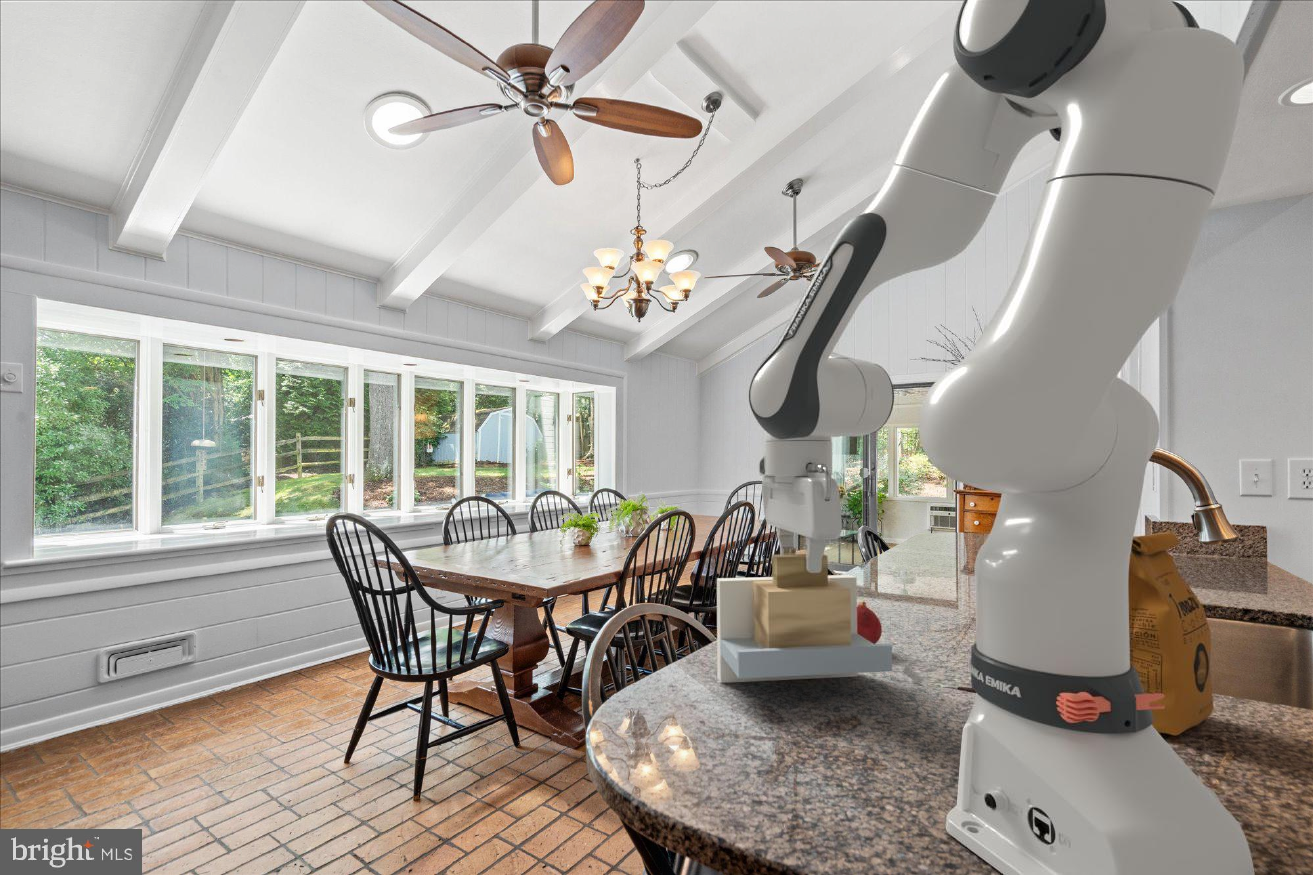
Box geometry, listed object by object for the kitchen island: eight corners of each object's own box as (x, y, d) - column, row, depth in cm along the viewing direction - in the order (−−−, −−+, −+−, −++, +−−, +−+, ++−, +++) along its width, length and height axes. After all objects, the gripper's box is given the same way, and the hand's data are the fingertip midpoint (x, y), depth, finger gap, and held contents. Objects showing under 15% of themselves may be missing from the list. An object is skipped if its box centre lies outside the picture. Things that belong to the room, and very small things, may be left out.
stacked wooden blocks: (851, 651, 81) (849, 558, 81) (768, 655, 80) (767, 560, 80) (829, 636, 88) (828, 550, 88) (753, 639, 87) (752, 552, 87)
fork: (1037, 708, 78) (1036, 692, 78) (902, 685, 87) (902, 670, 87) (1036, 701, 81) (1036, 685, 81) (905, 679, 89) (905, 665, 89)
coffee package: (1232, 725, 72) (1225, 534, 73) (1179, 749, 66) (1172, 541, 67) (1134, 697, 81) (1129, 526, 82) (1080, 715, 75) (1074, 532, 76)
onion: (884, 657, 97) (883, 606, 98) (846, 655, 99) (845, 604, 99) (879, 647, 103) (878, 598, 103) (842, 645, 104) (842, 596, 105)
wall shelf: (892, 703, 79) (891, 591, 80) (739, 711, 77) (738, 596, 77) (851, 671, 91) (850, 574, 92) (717, 677, 89) (716, 578, 89)
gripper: (854, 463, 75) (856, 579, 74) (795, 462, 95) (796, 554, 95) (803, 463, 74) (805, 581, 74) (755, 463, 94) (756, 555, 94)
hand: (799, 565), depth 84 cm, fingers open, 8 cm apart
